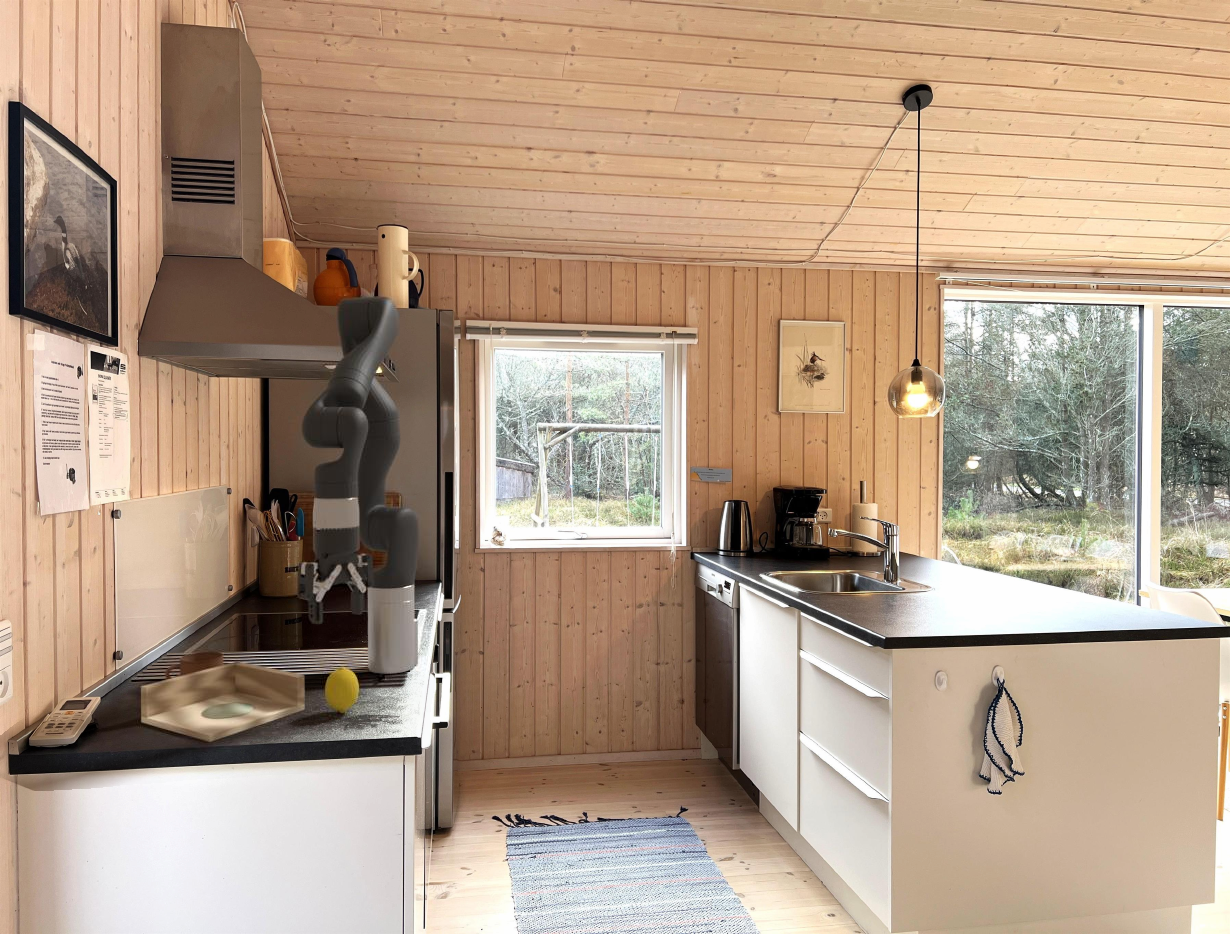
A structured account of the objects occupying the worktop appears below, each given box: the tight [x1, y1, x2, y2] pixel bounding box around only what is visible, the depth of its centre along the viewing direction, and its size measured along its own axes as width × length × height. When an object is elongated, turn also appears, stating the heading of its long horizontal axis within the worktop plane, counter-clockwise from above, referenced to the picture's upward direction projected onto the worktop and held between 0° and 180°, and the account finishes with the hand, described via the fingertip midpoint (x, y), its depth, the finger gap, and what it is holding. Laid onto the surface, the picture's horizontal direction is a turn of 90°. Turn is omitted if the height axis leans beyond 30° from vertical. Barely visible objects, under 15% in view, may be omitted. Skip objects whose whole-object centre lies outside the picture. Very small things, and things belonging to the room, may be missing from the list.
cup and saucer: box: [164, 651, 224, 680], centre depth 157 cm, size 12×12×6 cm
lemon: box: [324, 666, 360, 714], centre depth 143 cm, size 6×6×8 cm
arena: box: [140, 661, 306, 742], centre depth 142 cm, size 18×18×6 cm
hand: (337, 618), depth 143 cm, fingers open, 8 cm apart
